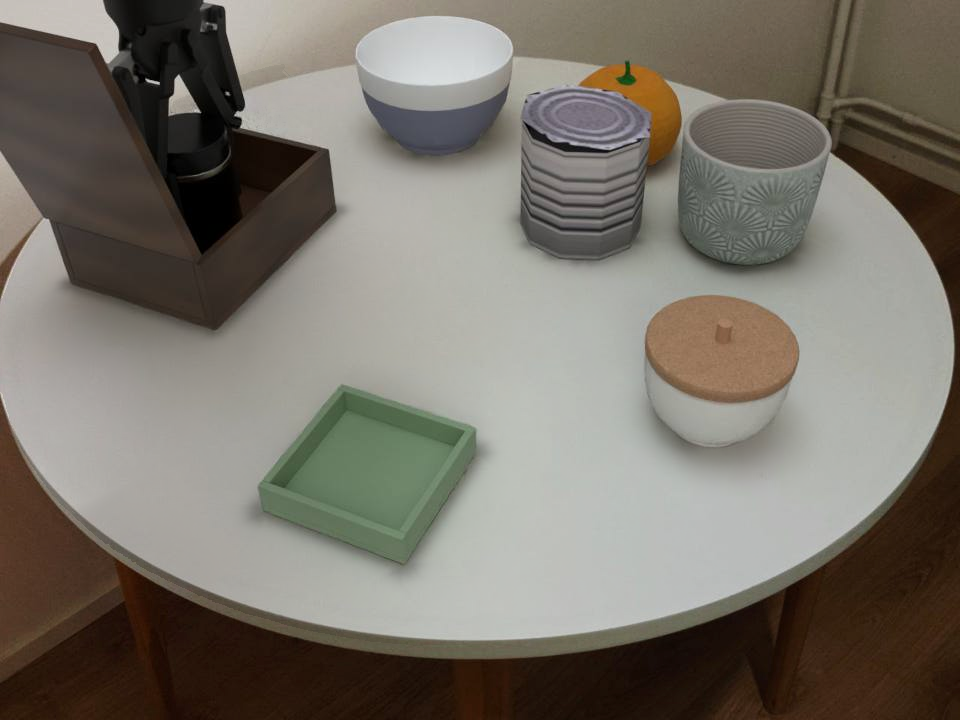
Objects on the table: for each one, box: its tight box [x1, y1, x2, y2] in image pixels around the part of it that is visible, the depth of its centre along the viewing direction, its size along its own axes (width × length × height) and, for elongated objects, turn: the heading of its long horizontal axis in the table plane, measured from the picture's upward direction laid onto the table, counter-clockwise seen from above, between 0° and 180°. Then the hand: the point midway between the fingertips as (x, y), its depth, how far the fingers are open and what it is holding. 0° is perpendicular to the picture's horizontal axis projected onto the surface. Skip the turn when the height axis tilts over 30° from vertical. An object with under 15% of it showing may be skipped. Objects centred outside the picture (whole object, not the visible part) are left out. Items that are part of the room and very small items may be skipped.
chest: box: [48, 127, 337, 331], centre depth 95 cm, size 20×16×7 cm
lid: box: [0, 21, 202, 263], centre depth 77 cm, size 20×16×1 cm
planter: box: [677, 98, 833, 266], centre depth 93 cm, size 12×12×11 cm
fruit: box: [577, 60, 683, 167], centre depth 105 cm, size 12×12×10 cm
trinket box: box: [643, 294, 800, 448], centre depth 76 cm, size 11×11×9 cm
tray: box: [257, 383, 477, 565], centre depth 74 cm, size 11×11×3 cm
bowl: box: [354, 15, 515, 156], centre depth 109 cm, size 16×16×10 cm
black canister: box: [167, 111, 243, 255], centre depth 93 cm, size 7×7×11 cm
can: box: [519, 84, 651, 261], centre depth 95 cm, size 11×11×12 cm
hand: (201, 213), depth 95 cm, fingers closed on black canister, 7 cm apart
